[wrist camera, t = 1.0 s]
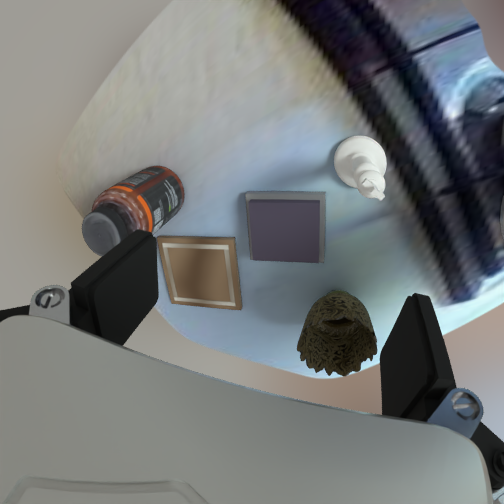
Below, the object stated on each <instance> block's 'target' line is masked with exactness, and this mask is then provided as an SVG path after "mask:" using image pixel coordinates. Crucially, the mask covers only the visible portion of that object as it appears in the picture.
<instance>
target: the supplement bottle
mask: <svg viewBox="0 0 504 504" xmlns="http://www.w3.org/2000/svg"><path fill="white" fill-rule="evenodd" d="M183 202H184V188H183V185H182V183H181V181H180V179H179V178H178V176H177V175H176V174H175V173H174V172H172V171H171V170H170V169H168V168H166V167H162V166H152V167H149V168H146V169H144V170H142V171H140V172H138V173H136V174H135V175H133V176H131V177H129V178H127V179H125V180H123V181H122V182H120V183H118V184H116V185H114V186H112V187H111V188H109V189H107V190H105V191H104V192H102V193H101V194H100V195H99V196H98V197H97V199H96V200H95V202H94V204H93V207H92V212H91V213H89V214H88V215H87V216H86V217H85V218H84V220H83V224H82V233H83V237H84V239H85V242H86V243H87V245H88V246H89V248H90V249H91V250H92V251H93V252H95V253H96V254H98V255H100V256H104V255H105V254H106V253H107V252H109V251H110V250H111V249H112V248H114V247H115V246H116V245H117V244H119V243H120V242H121V241H122V240H124V239H125V238H126V237H127V236H129V235H130V234H131V233H133V232H134V231H135V230H137V229H140V230H144V231H148V232H151V233H152V234H153V235H154V234H155V233H156V232H157V231H158V230H159V229H160V228H161V227H162V226H163V225H165V224H166V223H167V222H168V221H169V220H170V219H171V218H172V217H173V216H175V215H176V214H177V213H178V211H179V210H180V209H181V207H182V205H183Z"/></svg>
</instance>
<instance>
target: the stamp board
mask: <svg viewBox="0 0 504 504" xmlns="http://www.w3.org/2000/svg"><path fill="white" fill-rule="evenodd" d="M157 241H158V246H159V250H160V255H161V260H162V264H163V269H164V273H165V278H166V282H167V286H168V290H169V295H170V299H171V303H172V304H181V305H190V306H200V307H210V308H221V309H232V310H241V309H242V300H241V291H240V282H239V272H238V262H237V253H236V243H235V237H197V236H158V237H157Z"/></svg>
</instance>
